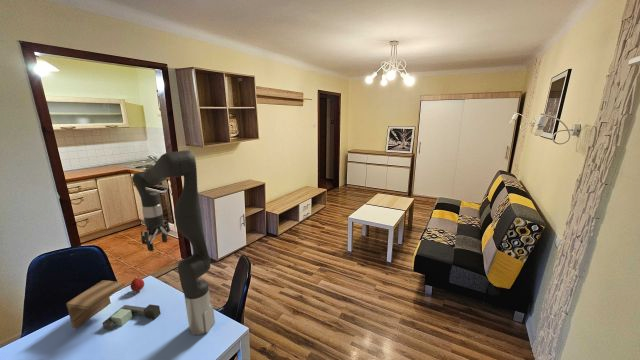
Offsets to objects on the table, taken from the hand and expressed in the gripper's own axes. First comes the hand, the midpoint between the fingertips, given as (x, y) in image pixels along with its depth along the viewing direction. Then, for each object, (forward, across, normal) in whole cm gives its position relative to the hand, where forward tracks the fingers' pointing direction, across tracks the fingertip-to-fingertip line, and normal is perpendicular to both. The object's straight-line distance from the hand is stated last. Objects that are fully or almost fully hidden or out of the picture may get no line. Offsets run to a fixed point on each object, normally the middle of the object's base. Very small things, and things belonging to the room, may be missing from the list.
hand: (158, 246), depth 124 cm
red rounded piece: (+28, +2, +18) cm, 34 cm away
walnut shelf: (+28, -16, +20) cm, 38 cm away
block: (+28, -17, +8) cm, 34 cm away
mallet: (+28, -16, +4) cm, 33 cm away
